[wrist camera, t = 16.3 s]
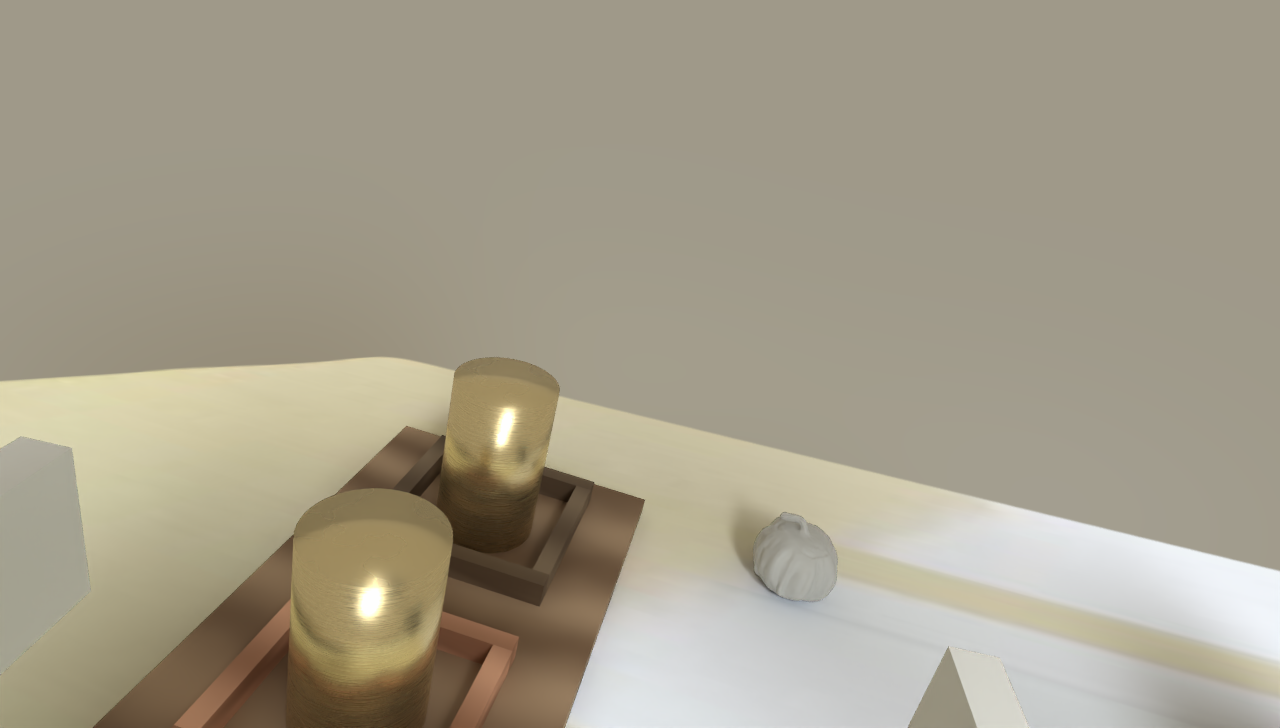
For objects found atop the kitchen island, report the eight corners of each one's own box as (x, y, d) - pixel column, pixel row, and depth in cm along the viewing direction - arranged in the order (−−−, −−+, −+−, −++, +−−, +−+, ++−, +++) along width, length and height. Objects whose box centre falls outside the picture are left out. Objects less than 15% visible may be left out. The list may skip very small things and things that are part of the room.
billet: (520, 491, 52) (545, 359, 48) (541, 550, 48) (571, 409, 43) (429, 493, 50) (447, 355, 46) (441, 556, 45) (462, 408, 41)
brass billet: (419, 650, 39) (442, 486, 35) (435, 756, 34) (463, 580, 30) (287, 665, 36) (294, 490, 32) (283, 781, 32) (291, 593, 27)
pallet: (404, 439, 57) (408, 408, 56) (641, 513, 55) (649, 482, 54) (35, 806, 30) (27, 758, 29) (477, 973, 28) (487, 929, 27)
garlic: (725, 565, 52) (746, 502, 50) (781, 548, 55) (803, 488, 53) (786, 628, 48) (813, 562, 46) (843, 605, 51) (870, 542, 49)
